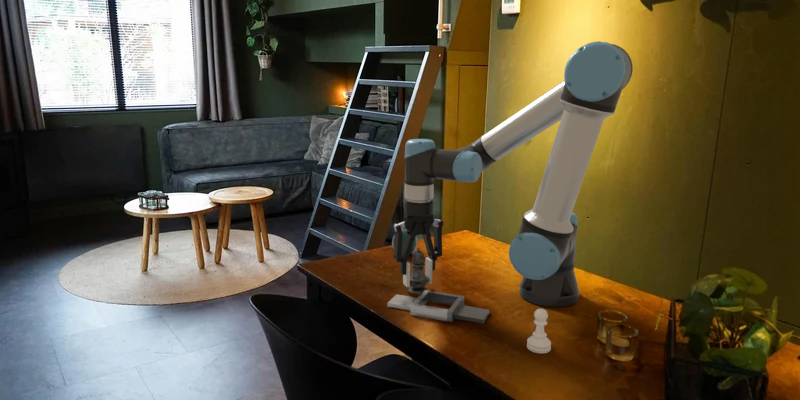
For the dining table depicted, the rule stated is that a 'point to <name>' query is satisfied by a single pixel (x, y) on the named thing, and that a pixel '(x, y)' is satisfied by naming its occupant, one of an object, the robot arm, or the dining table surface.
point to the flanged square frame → (436, 313)
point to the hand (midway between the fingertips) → (417, 283)
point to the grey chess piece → (418, 274)
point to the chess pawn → (539, 334)
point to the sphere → (404, 241)
